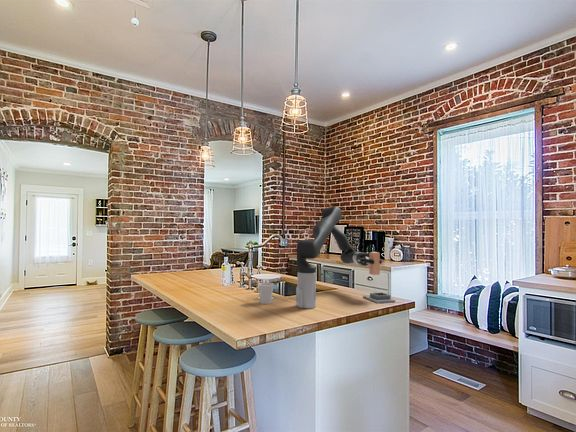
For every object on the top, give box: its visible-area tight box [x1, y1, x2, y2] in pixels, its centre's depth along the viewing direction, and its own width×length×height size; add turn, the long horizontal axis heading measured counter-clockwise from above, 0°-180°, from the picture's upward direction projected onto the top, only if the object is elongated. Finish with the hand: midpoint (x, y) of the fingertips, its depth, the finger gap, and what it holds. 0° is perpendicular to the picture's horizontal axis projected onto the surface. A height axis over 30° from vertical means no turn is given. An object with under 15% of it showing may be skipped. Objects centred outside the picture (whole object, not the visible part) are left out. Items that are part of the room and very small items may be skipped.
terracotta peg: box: [368, 251, 381, 276], centre depth 185 cm, size 4×4×12 cm
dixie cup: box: [257, 281, 275, 305], centre depth 175 cm, size 8×8×10 cm
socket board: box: [362, 292, 396, 304], centre depth 184 cm, size 11×15×3 cm
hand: (377, 261), depth 182 cm, fingers closed on terracotta peg, 4 cm apart
